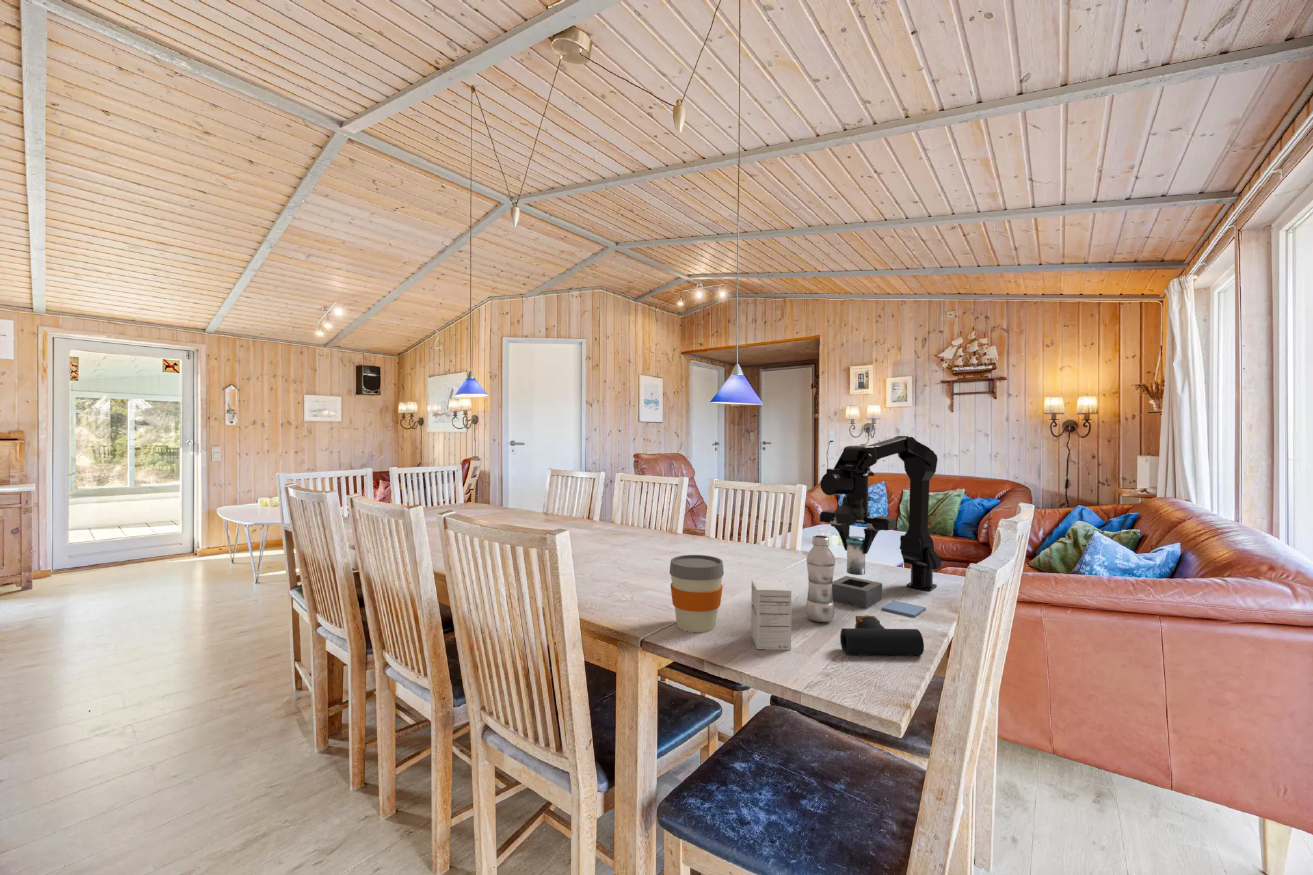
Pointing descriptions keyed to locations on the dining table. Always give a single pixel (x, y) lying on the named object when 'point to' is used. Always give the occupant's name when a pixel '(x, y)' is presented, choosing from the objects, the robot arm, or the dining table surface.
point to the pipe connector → (880, 639)
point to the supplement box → (771, 615)
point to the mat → (903, 608)
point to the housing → (856, 592)
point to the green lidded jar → (855, 555)
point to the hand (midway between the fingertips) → (856, 551)
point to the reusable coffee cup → (696, 591)
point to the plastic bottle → (820, 581)
